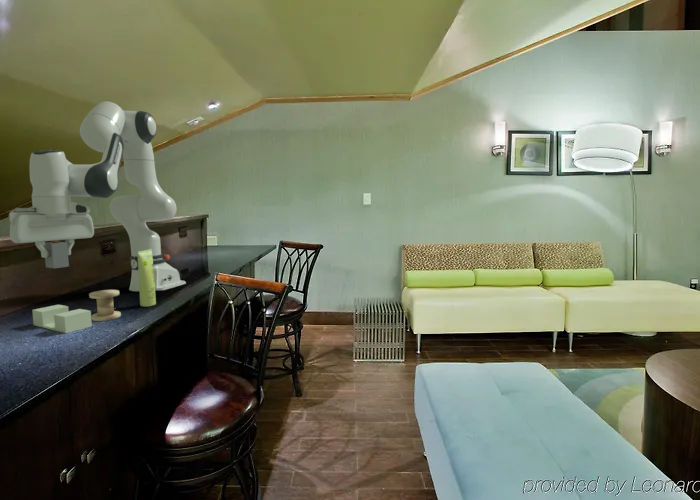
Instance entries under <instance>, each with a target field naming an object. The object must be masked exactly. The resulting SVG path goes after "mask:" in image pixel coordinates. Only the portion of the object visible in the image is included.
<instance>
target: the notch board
mask: <svg viewBox="0 0 700 500" xmlns="http://www.w3.org/2000/svg"><path fill="white" fill-rule="evenodd" d="M91 315H92V311H91V310H88V309H82V308H77V309H73V310H69V306H67V305H63V304H55V305H50V306H45V307H40V308H36V309H32V321H33V326H36V327H39V328H44V329H48V330H50V331H51V330H52V331H55V332H60V333H64V334H68V333H72V332H75V331H79V330H83V329H87V328H92V327H93V323H92V320H91Z"/></svg>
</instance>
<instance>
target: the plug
mask: <svg viewBox="0 0 700 500" xmlns="http://www.w3.org/2000/svg"><path fill="white" fill-rule="evenodd" d="M43 246H44V248H45V249H46V250H47V251H50V255H51V256H50V257H46V258H44V260H45V268H46V269H47V268H49V269H59V268H66V267H70V263H69V255H68V247H67V242H65V241H60V240H54V241H50V242H45V245H43Z"/></svg>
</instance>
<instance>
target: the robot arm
mask: <svg viewBox="0 0 700 500" xmlns="http://www.w3.org/2000/svg"><path fill="white" fill-rule="evenodd" d="M157 129H158V128H157V122H156V120H155V118H154V116H153V115H152V114H151V113H149V112H147V111H143V110H138V111H136V110H124V109H123V108H122V107H121V106H119V105H118V104H117V103H115V102H112V101H107V100H106V101H104V100H103V101H101V102H99V103H98V104H96V105H95V106H94V107H93V108H91V110H90V111H89V112H88V113H87V114H86V116H85V117H84V119H83V121H82V122H81V124H80V127H79V135H80V138H81V140H82V141H83V142H84V143H85V145H87V146H88V148H90V149H92V150H94V151H96V152H99V153H103V154H102V157H101V160H100V161H99V162H95V163H92V164H87V163H86V164H78V163H77V164H75V163H74V164H73V163H72V162H70V161H69V160H68V159H67V158H66V154H65V152H64V151H62V150H61V149H38V150H35V151H32V152H31V154H30V157H29V180H30V184H31V186H32V193H31V204H32V207H16V208H14V209H13V210H11V211H9V212H8V213H9V214H8V220H9V223H10V225H9V239H10V241H12V242H13V243H15V244H25V243H34V244H35V247H36V248H37V249H38V250H39V252H40V255H41V258H42V259H43V258H44V259H45V258H46V257H50V256H51V255H50V251H47V250H46V249H45V248H44V245H45V243H46V242H49V241H50V242H52V241H54V240H59V241H64V242H67V247H68V256H71V255H72V248H73V247H74V245H75V240H78V239H79V240H81V239H91V238H93V237H94V235H95V226H94V223H93V221H94V220H93V218H92V216H91V215H90V212H91V208H90V206H88V205H85V204H81V203H79V202H78V203H77V202H75V201H72V198H71V197H76V198H77V197H79V198H80V197H81V198H82V197H89V198H91V197H92V198H93V197H94V198H100V199H101V198H103V199H107V198H109V197H111V196H112V195H114V194H115V192H116V191H117V190H118V187H119V174H120V168H121V165H122V160H123V168H124V176H125V177H124V178H125V180H126V181H127V182H128V183H129V184H131V185H133V186H134V187H136V188H137V189H138V190H139V192H140V194H125V195H120V196H115V197H113V198H112V200H111V201H110V202H109V203H110V204H109V213H110V214H111V216H112V217H113V218H114V219H115V220H116V221H117V222H119V223H120V224H121V225H122V226H123V227H124V229H125V231H126V232H127V234H128V237H129V242H130V243H129V244H130V251H131V255H130V258H129V259H130V266H131V267H130V268H131V278H130V284H129V285H130V286H129V288H128V290H129V291H131V292H140V291H139V273H138V252H139V251H144V250H149V249H152V256H153V269H154V282H155V291H166V290H169V289H173V288H176V287H179V286H182V285H183V286H184V285H186V284H187V282H186V281H185V280H181V277H180V271H178V269H177V268H174V267H173V266H171V265H170V264H169V263H167V262H166V260H170V258H171V256H170V255H169V254H164V255H163V254H162V248H161V247H162V246H161V237H160V235H159V233H157V232H156V231H154V230H152V229H150V228H149V227H148V226H147V222H148V223H149V222H150V223H151V222H155V223H156V222H164V221H165V222H166V221H170V220H173V219H174V217H175V216H176V214H177V210H178V208H177V204H176V201H175V200H174V199H173V197H171V196H170V195H168V194H167V193H166V192H165V191H164V190H163V188H162V187H161V186H160V184H159V181H158V177H157V174H156V173H157V171H156V166H155V165H156V164H155V155H154V149H153V145H152V140H153V139H154V138H155V137H156V134H157Z"/></svg>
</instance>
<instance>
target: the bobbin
mask: <svg viewBox="0 0 700 500" xmlns="http://www.w3.org/2000/svg"><path fill="white" fill-rule="evenodd" d="M88 296H89V297H88V298H90V299H92V300H93V299H96V309H97V312H96V313H94V314H91V321H93V322H107V321H112V320H116V319H119V318H121V316H122V313H121V311H119V310H115V308H114V307H115V306H114V297H118V296H120V290H119V289H103V290H102V289H101V290H97V291H92V292H90V293H88Z"/></svg>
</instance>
